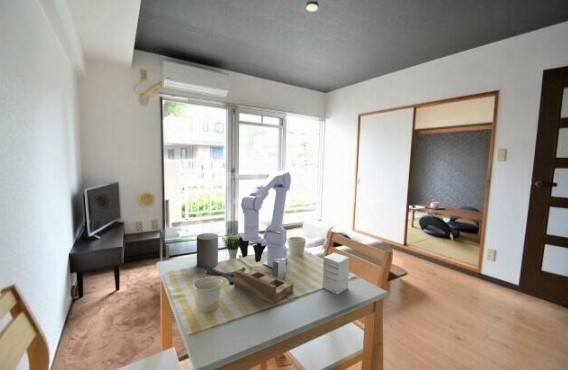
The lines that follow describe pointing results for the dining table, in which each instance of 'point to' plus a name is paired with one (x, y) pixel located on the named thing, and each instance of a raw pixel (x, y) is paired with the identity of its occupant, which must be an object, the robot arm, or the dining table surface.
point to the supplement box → (335, 273)
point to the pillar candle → (207, 250)
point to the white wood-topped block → (279, 267)
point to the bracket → (224, 274)
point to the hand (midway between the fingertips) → (251, 258)
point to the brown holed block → (262, 285)
